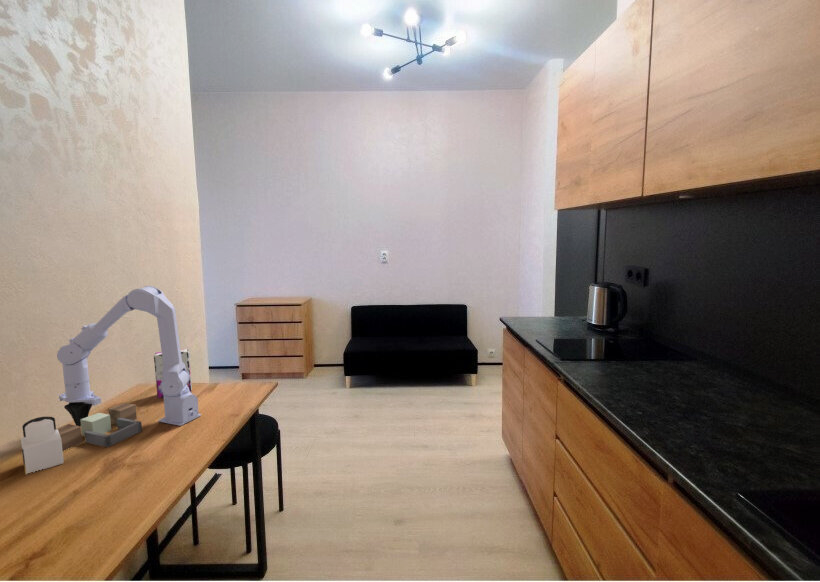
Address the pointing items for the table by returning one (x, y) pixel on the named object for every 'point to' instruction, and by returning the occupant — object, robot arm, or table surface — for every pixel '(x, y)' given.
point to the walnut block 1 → (70, 436)
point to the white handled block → (41, 444)
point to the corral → (114, 433)
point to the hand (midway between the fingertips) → (81, 424)
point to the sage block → (96, 423)
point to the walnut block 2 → (122, 412)
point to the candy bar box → (159, 366)
